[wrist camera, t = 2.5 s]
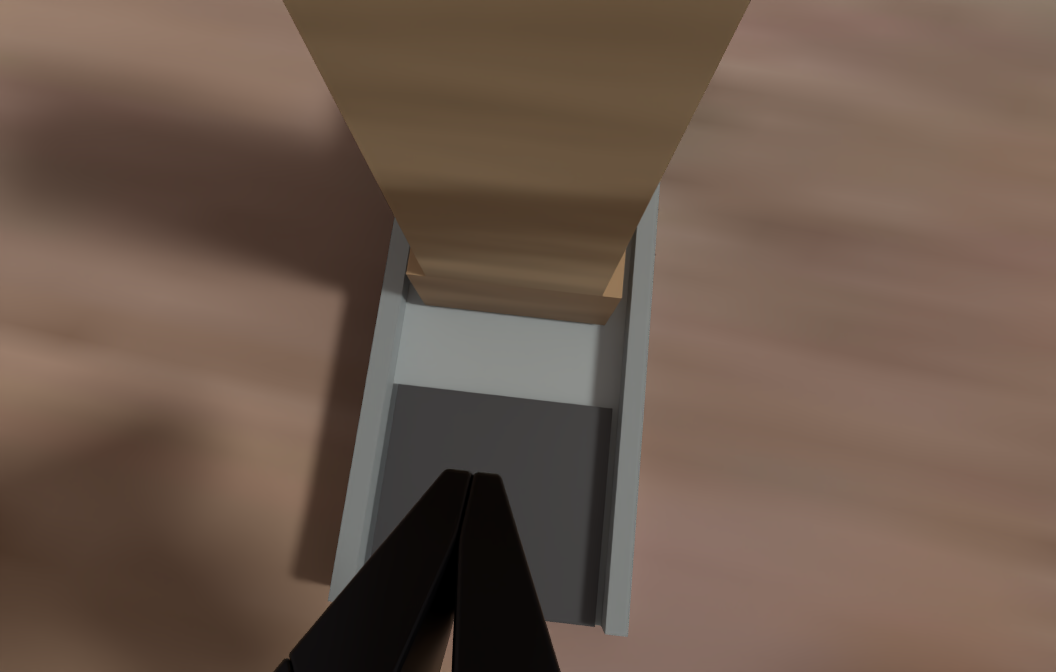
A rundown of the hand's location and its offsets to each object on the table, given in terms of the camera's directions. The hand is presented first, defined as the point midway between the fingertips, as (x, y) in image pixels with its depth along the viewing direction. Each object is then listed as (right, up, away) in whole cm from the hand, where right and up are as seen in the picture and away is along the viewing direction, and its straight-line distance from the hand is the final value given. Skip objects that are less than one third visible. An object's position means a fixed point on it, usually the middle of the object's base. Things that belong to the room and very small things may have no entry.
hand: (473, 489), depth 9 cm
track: (+1, +5, +10) cm, 11 cm away
